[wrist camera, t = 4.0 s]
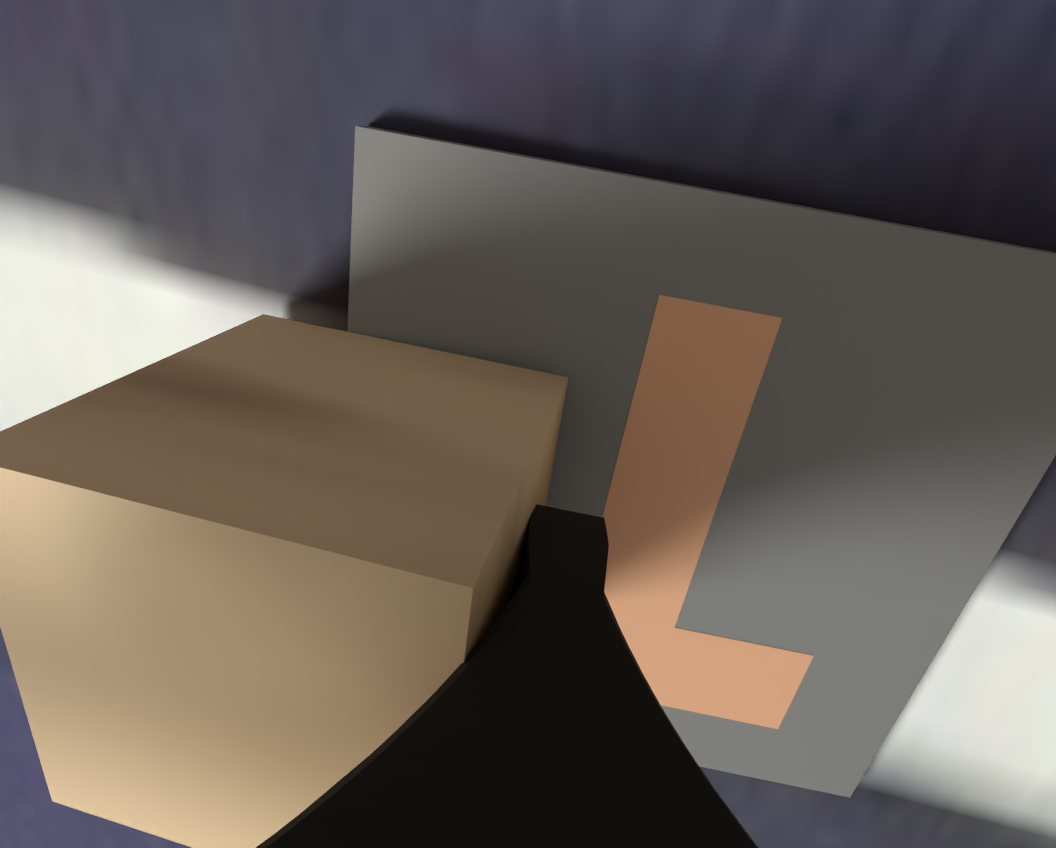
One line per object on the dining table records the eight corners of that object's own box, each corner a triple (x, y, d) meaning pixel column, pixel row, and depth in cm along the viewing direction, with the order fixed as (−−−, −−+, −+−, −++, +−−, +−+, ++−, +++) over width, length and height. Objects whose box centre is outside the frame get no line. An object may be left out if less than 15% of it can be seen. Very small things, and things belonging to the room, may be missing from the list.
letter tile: (843, 779, 14) (850, 797, 13) (340, 675, 14) (332, 690, 14) (1141, 268, 9) (1164, 274, 9) (365, 126, 9) (354, 125, 9)
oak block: (524, 628, 12) (430, 926, 7) (274, 562, 13) (52, 801, 8) (568, 377, 10) (473, 588, 5) (262, 313, 10) (-52, 453, 6)
